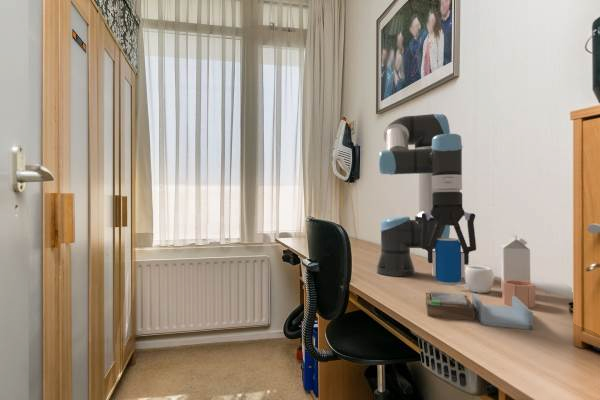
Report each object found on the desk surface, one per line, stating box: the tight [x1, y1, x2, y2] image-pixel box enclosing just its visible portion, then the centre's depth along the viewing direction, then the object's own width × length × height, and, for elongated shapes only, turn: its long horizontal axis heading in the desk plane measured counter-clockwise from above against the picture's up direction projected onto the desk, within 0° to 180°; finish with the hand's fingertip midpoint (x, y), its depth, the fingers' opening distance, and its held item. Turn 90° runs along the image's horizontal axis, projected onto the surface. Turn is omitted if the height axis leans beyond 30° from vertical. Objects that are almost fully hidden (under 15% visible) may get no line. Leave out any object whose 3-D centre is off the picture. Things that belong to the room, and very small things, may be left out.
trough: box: [471, 292, 534, 331], centre depth 87 cm, size 14×11×4 cm
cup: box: [501, 280, 536, 309], centre depth 99 cm, size 8×8×6 cm
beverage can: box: [434, 237, 462, 286], centre depth 93 cm, size 6×6×12 cm
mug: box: [455, 265, 495, 294], centre depth 113 cm, size 12×8×8 cm
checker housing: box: [425, 292, 475, 321], centre depth 93 cm, size 12×11×4 cm
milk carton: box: [500, 233, 531, 291], centre depth 109 cm, size 7×7×19 cm
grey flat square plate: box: [430, 291, 467, 306], centre depth 93 cm, size 8×8×1 cm
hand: (447, 275), depth 93 cm, fingers closed on beverage can, 6 cm apart
